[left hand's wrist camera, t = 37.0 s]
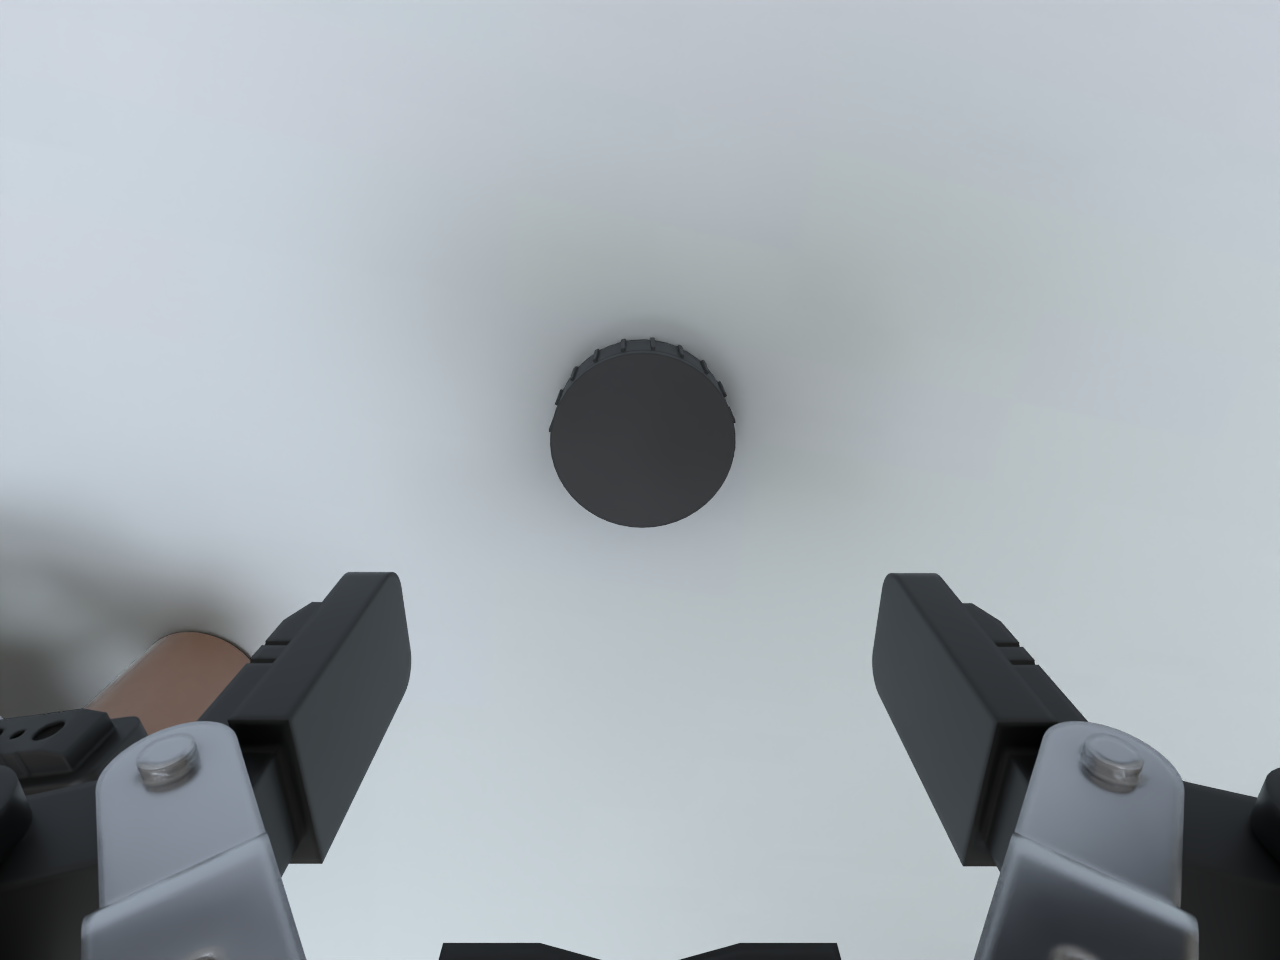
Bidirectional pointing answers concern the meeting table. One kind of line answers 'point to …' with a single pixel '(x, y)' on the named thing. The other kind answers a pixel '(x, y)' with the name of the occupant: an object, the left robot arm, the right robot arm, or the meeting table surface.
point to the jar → (172, 681)
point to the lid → (642, 434)
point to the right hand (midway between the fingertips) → (160, 825)
